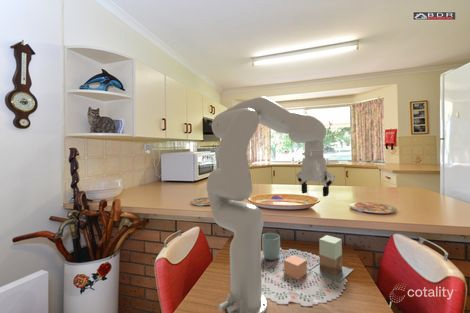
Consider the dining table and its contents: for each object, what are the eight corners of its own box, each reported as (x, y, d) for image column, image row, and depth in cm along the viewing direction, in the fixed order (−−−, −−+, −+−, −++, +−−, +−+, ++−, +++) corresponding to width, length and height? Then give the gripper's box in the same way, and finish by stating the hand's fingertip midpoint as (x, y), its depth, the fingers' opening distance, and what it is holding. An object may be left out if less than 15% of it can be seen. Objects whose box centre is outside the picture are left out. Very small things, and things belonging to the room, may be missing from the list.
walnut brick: (335, 275, 82) (334, 259, 82) (319, 269, 86) (319, 254, 86) (342, 269, 86) (341, 254, 86) (327, 264, 90) (326, 249, 90)
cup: (280, 263, 93) (279, 239, 93) (261, 261, 95) (261, 238, 95) (280, 254, 101) (279, 233, 101) (263, 253, 103) (262, 232, 102)
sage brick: (334, 259, 82) (334, 243, 81) (319, 254, 86) (319, 239, 86) (341, 254, 86) (341, 239, 85) (326, 249, 90) (326, 235, 90)
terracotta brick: (297, 282, 80) (297, 265, 80) (284, 275, 84) (283, 260, 84) (306, 275, 84) (306, 260, 84) (293, 269, 88) (293, 254, 88)
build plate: (339, 284, 77) (339, 281, 77) (308, 271, 86) (308, 268, 86) (353, 272, 85) (353, 269, 85) (323, 261, 94) (323, 258, 94)
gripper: (291, 155, 99) (292, 193, 99) (329, 154, 86) (330, 198, 86) (301, 154, 104) (301, 191, 104) (338, 154, 91) (338, 195, 91)
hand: (314, 194), depth 95 cm, fingers open, 9 cm apart
